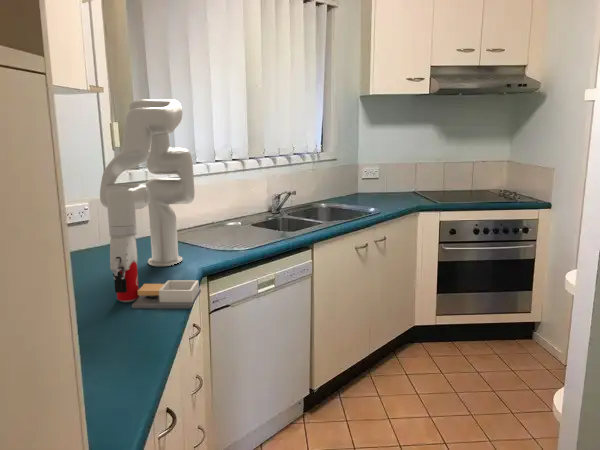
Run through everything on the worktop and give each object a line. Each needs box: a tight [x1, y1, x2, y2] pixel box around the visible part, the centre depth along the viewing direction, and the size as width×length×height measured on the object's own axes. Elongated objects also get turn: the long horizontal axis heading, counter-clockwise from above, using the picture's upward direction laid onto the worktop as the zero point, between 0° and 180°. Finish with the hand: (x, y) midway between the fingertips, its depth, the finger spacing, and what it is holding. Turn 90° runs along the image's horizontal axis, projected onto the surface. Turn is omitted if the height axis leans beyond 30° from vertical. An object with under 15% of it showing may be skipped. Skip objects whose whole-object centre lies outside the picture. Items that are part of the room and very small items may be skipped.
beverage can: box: [116, 260, 140, 303], centre depth 150 cm, size 6×6×12 cm
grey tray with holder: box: [131, 279, 202, 310], centre depth 150 cm, size 14×17×4 cm
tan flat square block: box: [138, 283, 165, 297], centre depth 150 cm, size 6×6×2 cm
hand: (127, 286), depth 150 cm, fingers open, 9 cm apart
